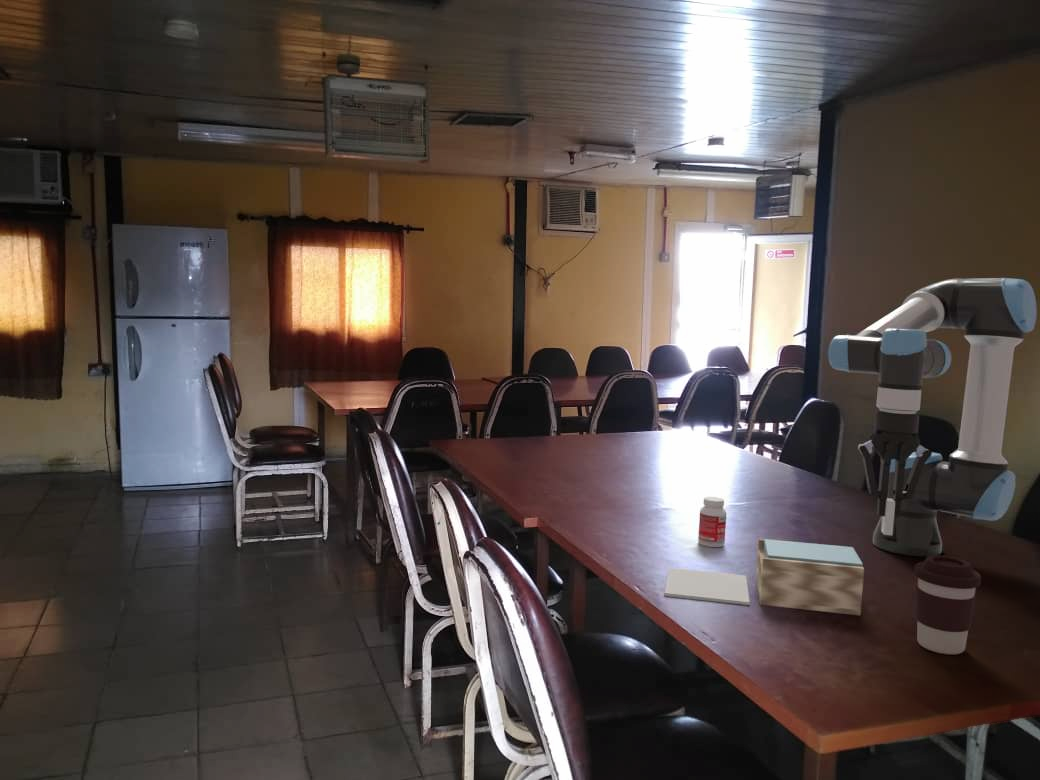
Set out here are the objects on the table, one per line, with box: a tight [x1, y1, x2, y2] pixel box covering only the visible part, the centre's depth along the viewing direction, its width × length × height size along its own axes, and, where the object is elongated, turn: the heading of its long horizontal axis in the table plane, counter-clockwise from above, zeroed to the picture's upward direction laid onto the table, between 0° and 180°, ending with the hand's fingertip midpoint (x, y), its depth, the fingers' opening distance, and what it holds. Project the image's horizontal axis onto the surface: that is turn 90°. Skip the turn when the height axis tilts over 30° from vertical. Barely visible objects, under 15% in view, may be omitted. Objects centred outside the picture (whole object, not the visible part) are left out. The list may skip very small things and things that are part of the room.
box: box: [755, 538, 865, 616], centre depth 161 cm, size 18×14×9 cm
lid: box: [763, 538, 864, 568], centre depth 161 cm, size 17×11×2 cm, turn 77°
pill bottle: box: [697, 496, 727, 548], centre depth 195 cm, size 6×6×11 cm
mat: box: [663, 567, 751, 606], centre depth 166 cm, size 16×16×1 cm
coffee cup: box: [914, 554, 982, 655], centre depth 139 cm, size 10×10×15 cm
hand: (886, 533), depth 157 cm, fingers closed
